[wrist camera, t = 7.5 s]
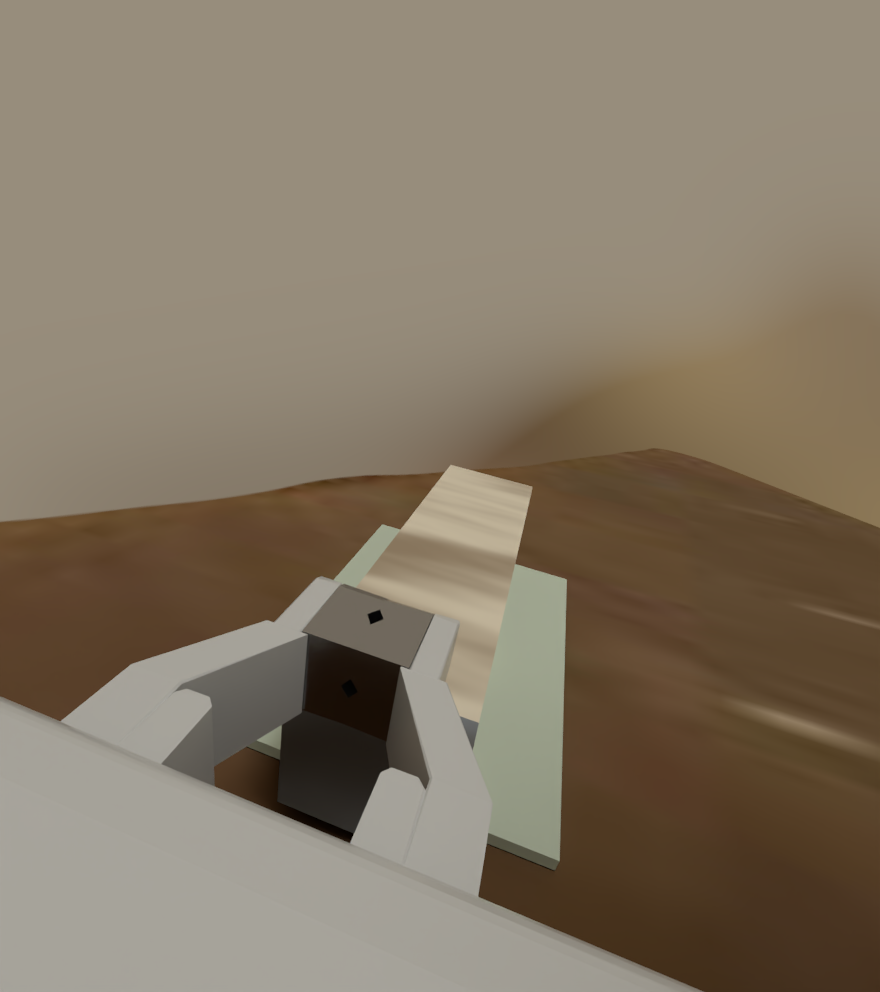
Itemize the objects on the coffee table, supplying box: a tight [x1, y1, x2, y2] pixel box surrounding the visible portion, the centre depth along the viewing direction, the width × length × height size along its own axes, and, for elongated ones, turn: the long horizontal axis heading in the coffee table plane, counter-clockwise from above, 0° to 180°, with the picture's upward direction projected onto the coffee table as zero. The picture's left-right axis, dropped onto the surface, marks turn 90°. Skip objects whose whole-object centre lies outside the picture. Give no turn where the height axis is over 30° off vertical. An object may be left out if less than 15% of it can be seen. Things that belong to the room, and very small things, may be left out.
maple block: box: [277, 465, 532, 834], centre depth 21 cm, size 5×5×18 cm
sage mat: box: [247, 524, 567, 871], centre depth 22 cm, size 16×12×1 cm
